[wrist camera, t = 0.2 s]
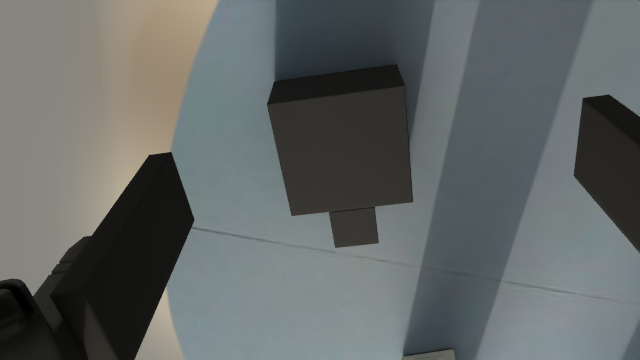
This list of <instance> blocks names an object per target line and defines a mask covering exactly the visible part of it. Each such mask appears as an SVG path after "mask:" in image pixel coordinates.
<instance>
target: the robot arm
mask: <svg viewBox="0 0 640 360" xmlns="http://www.w3.org/2000/svg"><path fill="white" fill-rule="evenodd" d="M574 177H575V178H576V179H577V180H578V181H579V183H580V184H581V185H582V186H583V187H584V188H585V190H586V191H587V192H588V193H589V194H590V195H591V197H592V198H593V199H594V200H595V201H596V202H597V204H598V205H599V206H600V207H601V208H602V209H603V211H604V212H605V213H606V214H607V215H608V216H609V218H610V219H611V220H612V221H613V222H614V223H615V225H616V226H617V227H618V228H619V229H620V230H621V232H622V233H623V234H624V235H625V236H626V237H627V239H628V240H629V241H630V242H631V243H632V244H633V246H634V247H635V248H636V249H637V250H638V251H639V253H640V117H639V116H638V115H637V114H635V113H634V112H632V111H631V110H630V109H628V108H627V107H625V106H624V105H623V104H621V103H620V102H619V101H617V100H616V99H614V98H613V97H612V96H610V95H603V96H595V97H587V98H583V101H582V110H581V118H580V127H579V135H578V144H577V152H576V161H575V169H574ZM193 222H194V217H193V214H192V211H191V208H190V205H189V202H188V199H187V197H186V194H185V191H184V188H183V185H182V182H181V179H180V176H179V173H178V170H177V167H176V164H175V161H174V158H173V156H172V153H171V152H168V153H161V154H154V155H149V156H148V158H147V159H146V160H145V162H144V163H143V165H142V166H141V167H140V169H139V170H138V172H137V173H136V174H135V176H134V177H133V179H132V180H131V181H130V183H129V184H128V186H127V187H126V188H125V190H124V191H123V193H122V194H121V195H120V197H119V199H118V200H117V201H116V202H115V204H114V205H113V207H112V208H111V209H110V211H109V212H108V214H107V215H106V217H105V218H104V219H103V221H102V222H101V224H100V225H99V226H98V228H97V229H96V231H95V232H94V234H93V235H92V236H87V237H83V238H82V239H81V240H79V241H78V242H77V243H76V244H74V245H73V246H72V247H71V248H69V249H68V251H67V252H66V253H65V255H64V256H63V257H62V259H61V260H60V263H59V264H57V265H56V267H55V268H54V269H53V271H52V274H51V275H49V276H48V277H47V279H46V280H45V281H44V283H43V284H42V285H41V287H40V288H39V289H38V291H37V292H36V293H35V295H34V296H32V295H31V293H30V291H29V290H28V288H27V286H26V285H25V283H24V282H22V281H21V280H18V279H8V280H3V281H0V360H134V359H135V357H136V355H137V352H138V350H139V348H140V345H141V343H142V341H143V338H144V336H145V334H146V331H147V329H148V327H149V325H150V322H151V320H152V318H153V315H154V313H155V311H156V308H157V306H158V304H159V301H160V299H161V297H162V294H163V292H164V290H165V287H166V285H167V283H168V280H169V278H170V276H171V273H172V271H173V269H174V266H175V264H176V262H177V259H178V257H179V255H180V253H181V250H182V248H183V246H184V243H185V241H186V239H187V236H188V234H189V232H190V229H191V227H192V225H193Z"/></svg>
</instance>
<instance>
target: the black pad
mask: <svg viewBox="0 0 640 360" xmlns="http://www.w3.org/2000/svg"><path fill="white" fill-rule="evenodd" d="M267 107H268V111H269V116H270V120H271V125H272V129H273V134H274V138H275V143H276V147H277V152H278V156H279V161H280V165H281V170H282V175H283V179H284V184H285V188H286V193H287V197H288V202H289V206H290V211H291V215H292V216H297V215H305V214H314V213H323V212H329V215H330V221H331V227H332V232H333V238H334V244H335V248H339V247H348V246H358V245H367V244H376V243H379V241H378V233H377V224H376V216H375V207H376V206H384V205H393V204H402V203H411V202H413V195H412V180H411V166H410V152H409V137H408V123H407V109H406V94H405V85H404V82H403V79H402V77H401V74H400V71H399V68H398V66H397V64H395V65H388V66H381V67H374V68H366V69H359V70H352V71H345V72H338V73H331V74H324V75H317V76H310V77H303V78H296V79H289V80H282V81H275V82H274V84H273V87H272V91H271V94H270V97H269V100H268V103H267Z"/></svg>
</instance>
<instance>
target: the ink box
mask: <svg viewBox="0 0 640 360" xmlns="http://www.w3.org/2000/svg"><path fill="white" fill-rule="evenodd" d="M402 360H456V359H455V354H454V351H453V350H452V349H450V350H443V351H437V352H431V353H424V354H417V355H411V356H405V357H402Z"/></svg>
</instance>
